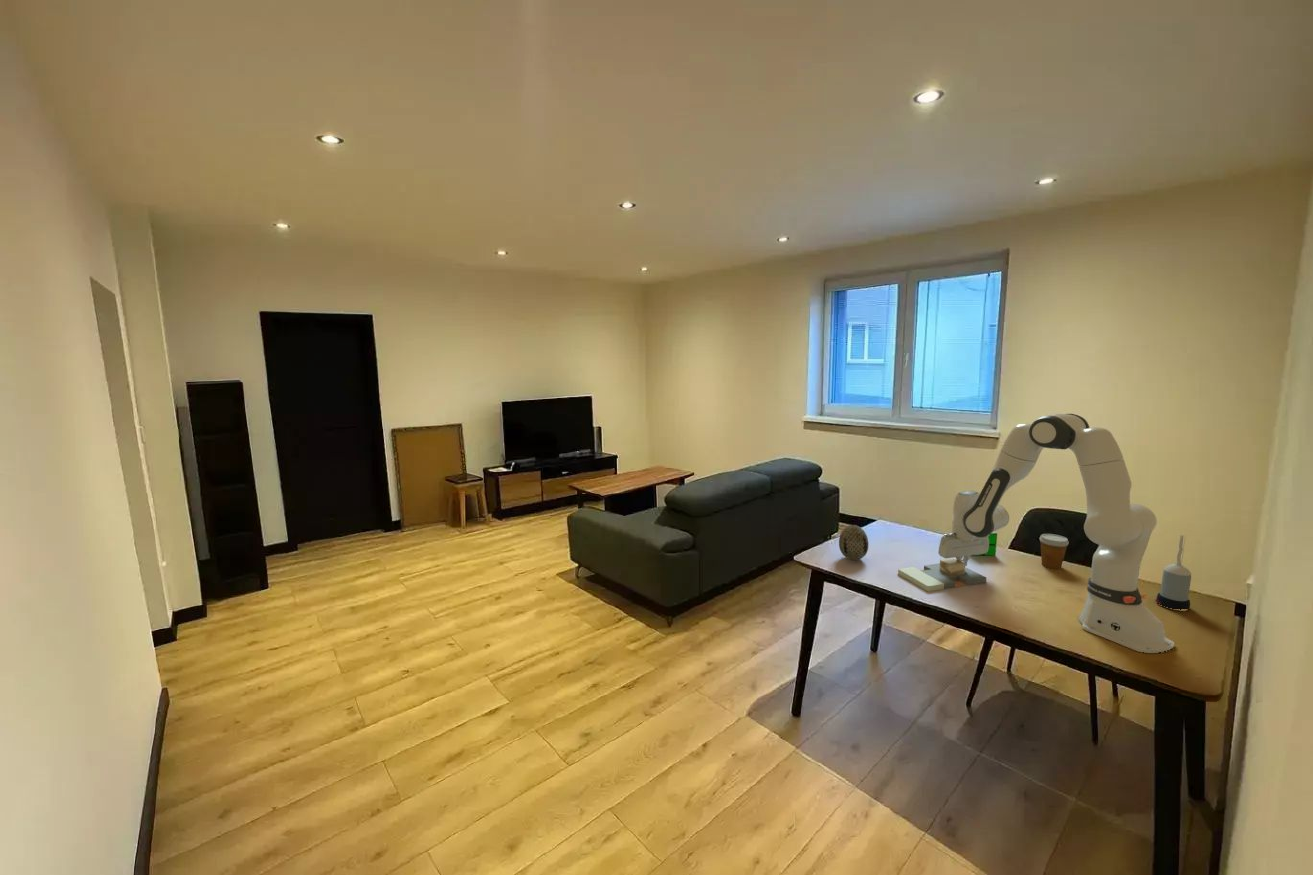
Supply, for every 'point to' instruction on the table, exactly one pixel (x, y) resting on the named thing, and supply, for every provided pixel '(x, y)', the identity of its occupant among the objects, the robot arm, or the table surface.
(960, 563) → the maple block
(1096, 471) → the robot arm
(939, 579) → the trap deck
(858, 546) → the decorative egg
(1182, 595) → the humidifier
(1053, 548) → the disposable coffee cup
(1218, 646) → the table surface
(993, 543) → the puzzle cube
